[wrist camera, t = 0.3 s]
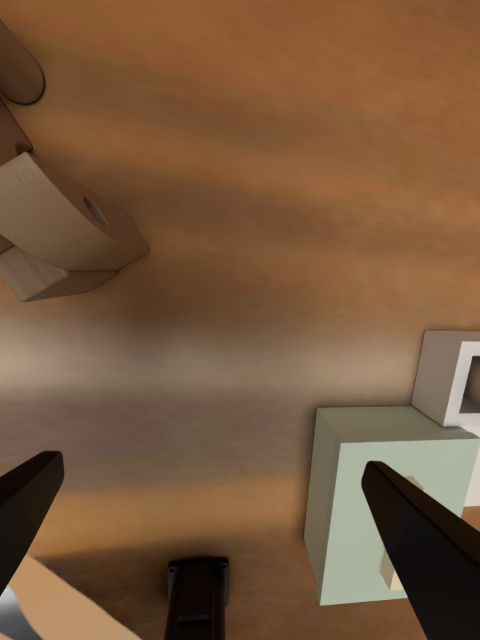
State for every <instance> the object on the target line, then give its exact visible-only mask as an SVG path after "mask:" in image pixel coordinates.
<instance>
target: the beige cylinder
mask: <svg viewBox="0 0 480 640" xmlns="http://www.w3.org/2000/svg"><path fill="white" fill-rule="evenodd" d="M463 396H464V397H466V398H468V399H469V400H471V401H473V402H475V403H477V404H479V405H480V356H472V360H471V365H470V369H469V373H468V377H467V381H466V386H465V390H464V394H463Z"/></svg>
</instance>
